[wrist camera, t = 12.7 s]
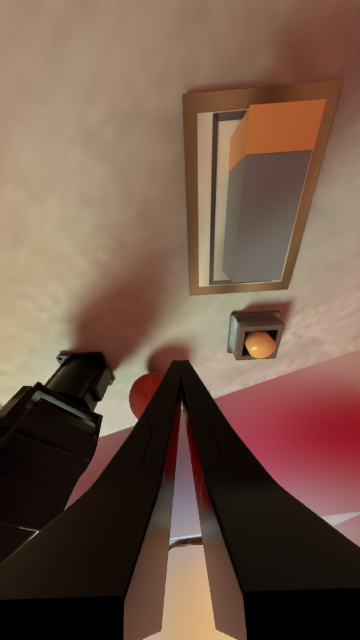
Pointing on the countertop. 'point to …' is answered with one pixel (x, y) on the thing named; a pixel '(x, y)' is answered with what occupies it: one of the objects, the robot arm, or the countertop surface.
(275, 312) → the button collar
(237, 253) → the grey orange block
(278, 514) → the robot arm
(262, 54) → the countertop surface
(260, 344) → the button
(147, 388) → the onion
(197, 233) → the picture frame
